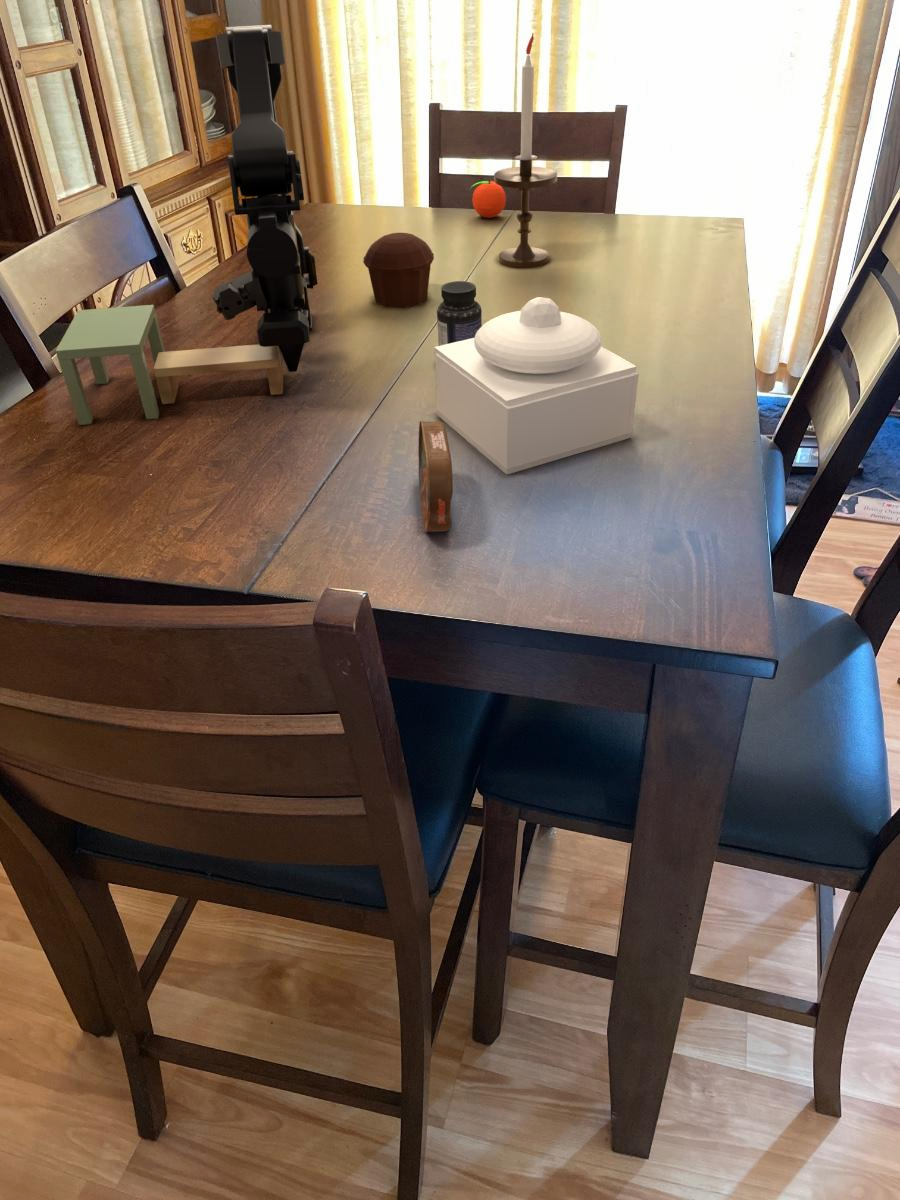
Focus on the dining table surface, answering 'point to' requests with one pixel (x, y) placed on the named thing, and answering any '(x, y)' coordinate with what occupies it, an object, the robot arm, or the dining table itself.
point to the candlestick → (525, 178)
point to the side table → (110, 351)
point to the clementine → (488, 199)
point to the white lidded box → (535, 388)
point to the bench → (216, 365)
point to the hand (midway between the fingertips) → (292, 370)
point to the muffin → (399, 269)
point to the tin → (435, 476)
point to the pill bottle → (458, 313)
